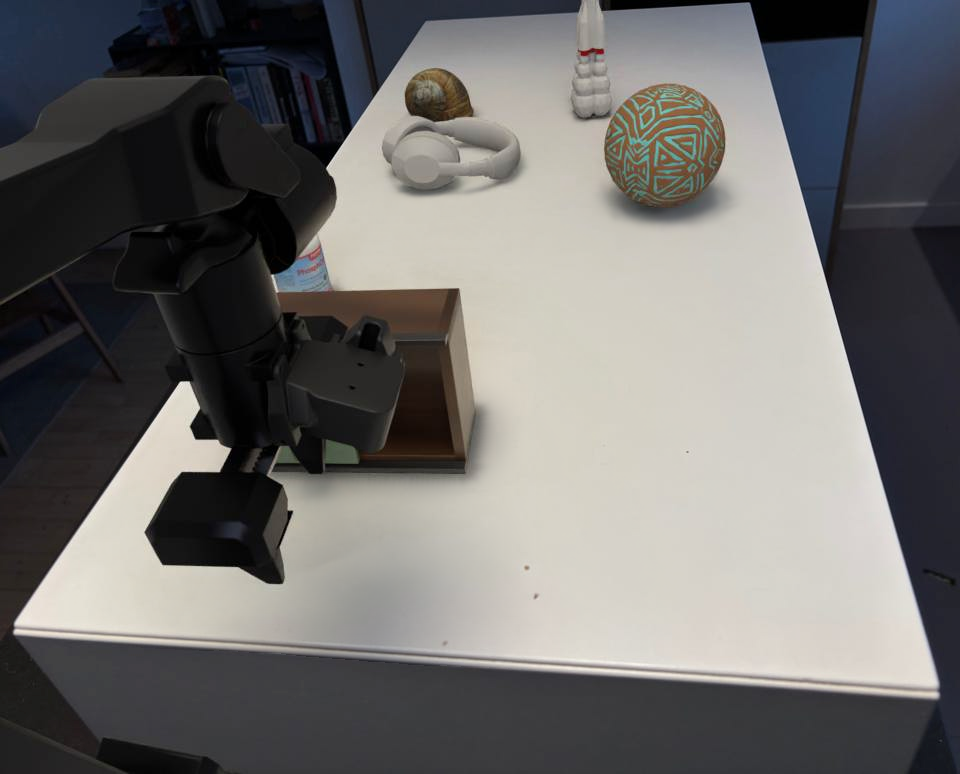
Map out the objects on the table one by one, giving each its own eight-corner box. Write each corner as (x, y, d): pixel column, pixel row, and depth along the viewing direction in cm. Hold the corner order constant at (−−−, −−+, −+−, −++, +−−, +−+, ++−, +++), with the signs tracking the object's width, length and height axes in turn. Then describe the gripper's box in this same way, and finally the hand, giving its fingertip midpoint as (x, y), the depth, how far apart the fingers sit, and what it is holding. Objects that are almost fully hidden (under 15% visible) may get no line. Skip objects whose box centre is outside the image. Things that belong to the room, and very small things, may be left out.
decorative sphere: (738, 188, 108) (751, 74, 99) (688, 238, 100) (697, 117, 90) (638, 169, 116) (640, 61, 107) (583, 213, 107) (580, 99, 98)
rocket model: (597, 125, 130) (595, -89, 112) (560, 118, 134) (552, -90, 116) (622, 110, 134) (624, -99, 116) (585, 103, 138) (581, -100, 120)
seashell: (404, 130, 137) (397, 82, 132) (411, 110, 144) (404, 64, 139) (471, 125, 135) (466, 77, 130) (475, 105, 143) (470, 58, 138)
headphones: (403, 205, 112) (537, 191, 118) (402, 150, 108) (541, 138, 114) (373, 159, 126) (494, 148, 132) (370, 108, 122) (496, 99, 127)
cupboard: (465, 473, 71) (445, 339, 62) (249, 471, 74) (200, 343, 65) (476, 412, 78) (459, 283, 69) (276, 413, 81) (235, 289, 72)
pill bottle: (318, 320, 93) (294, 232, 86) (273, 313, 95) (247, 227, 88) (343, 292, 97) (323, 206, 90) (300, 286, 99) (276, 202, 92)
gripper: (330, 445, 34) (392, 657, 44) (409, 231, 48) (442, 426, 58) (86, 444, 36) (198, 649, 45) (232, 237, 50) (293, 426, 60)
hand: (297, 523), depth 52 cm, fingers open, 9 cm apart
